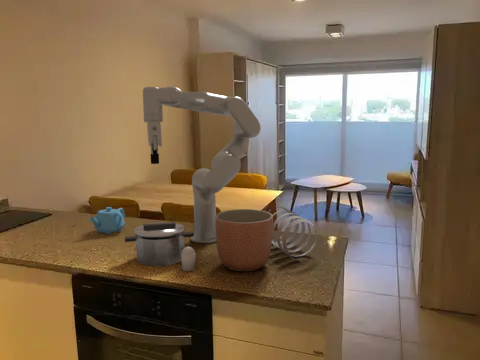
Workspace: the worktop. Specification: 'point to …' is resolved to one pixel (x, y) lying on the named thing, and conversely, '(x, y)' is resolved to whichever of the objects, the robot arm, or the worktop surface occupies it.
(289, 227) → the spring
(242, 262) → the planter
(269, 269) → the worktop surface
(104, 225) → the teapot
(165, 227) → the lid
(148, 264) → the pot
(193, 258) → the salt cellar
